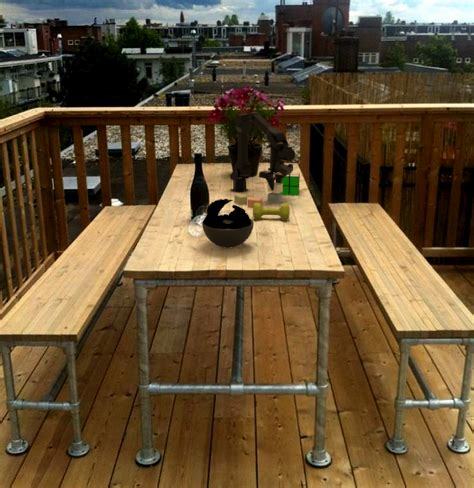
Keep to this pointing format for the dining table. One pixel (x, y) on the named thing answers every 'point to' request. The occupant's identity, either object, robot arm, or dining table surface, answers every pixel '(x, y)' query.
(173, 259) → the dining table surface
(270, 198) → the slate-blue brick
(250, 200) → the terracotta brick
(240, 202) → the olive brick
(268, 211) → the dumbbell
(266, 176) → the robot arm
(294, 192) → the puzzle cube
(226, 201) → the black hollow round piece
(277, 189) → the cream brick
